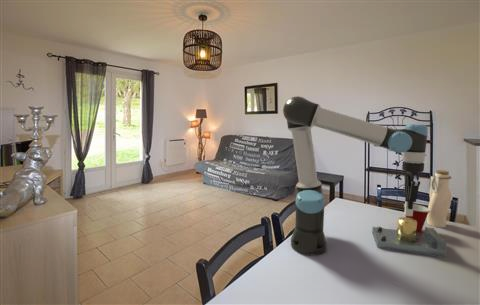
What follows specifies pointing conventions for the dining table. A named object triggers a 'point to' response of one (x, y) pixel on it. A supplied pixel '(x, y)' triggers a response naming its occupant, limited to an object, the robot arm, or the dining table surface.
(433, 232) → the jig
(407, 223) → the golden knob
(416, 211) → the plastic cup
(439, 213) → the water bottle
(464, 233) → the dining table surface
